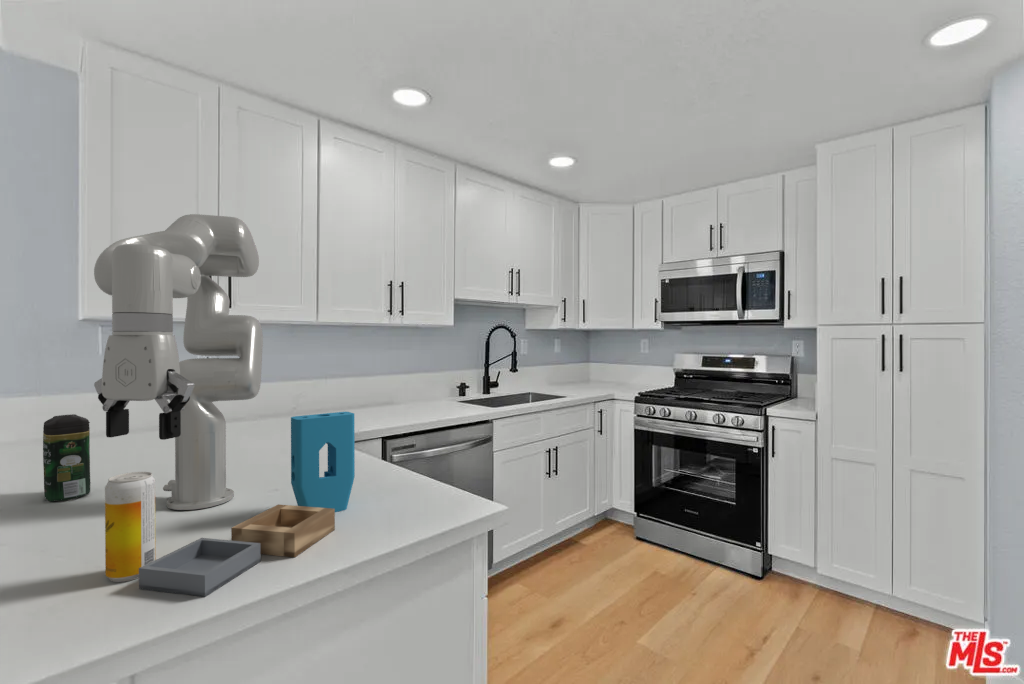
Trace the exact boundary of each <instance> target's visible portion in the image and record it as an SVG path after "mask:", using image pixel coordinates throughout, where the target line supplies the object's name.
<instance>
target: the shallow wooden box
mask: <svg viewBox="0 0 1024 684" xmlns="http://www.w3.org/2000/svg"><path fill="white" fill-rule="evenodd" d="M335 517H336V512H335V509H332V508H319V507H306V506H298V505H289V504H276V505H274V506H272V507H271V508H269V509H267V510H264V511H262V512H260V513H258V514H256V515H254V516H252V517H250V518H248V519H246V520H245V521H244V520H243V521H242V522H240V523H237V524H236V525H234V526H232V527H231V529H230V530H231V531H230V532H231V533H230V534H231V536H230V537H231V540H232V541H242V542H253V543H260V554H261V555H265V556H266V555H267V556H275V557H285V558H286V557H287V558H296V557H298V556H300V555H301V554H302V553H304V552H305V551H306V550H308V549H309V548H311V547H312V546H313V545H315V544H317V543H318V542H319V541H321V540H322V539H324V538H325V537H327V536H328V535H329V534H331V533H333V532H334V531H335V529H336V526H335V525H336V524H335V523H336V520H335V519H336V518H335Z"/></svg>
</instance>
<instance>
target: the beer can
mask: <svg viewBox="0 0 1024 684" xmlns="http://www.w3.org/2000/svg"><path fill="white" fill-rule="evenodd" d="M107 480H108V481H107V483H106V485H105V486H104V501H105V502H104V520H105V521H104V525H105V527H104V528H105V529H104V536H105V537H104V542H105V543H104V545H105V546H104V547H105V549H104V551H105V552H104V553H105V554H104V557H105V564H104V565H105V569H104V570H105V577H106V578H108V579H109V580H110V581H111V582H114V583H123V582H129V581H134V580H137V579H139V568H140V567H142V566H144V565H147V564H149V563H151V562H153V561H155V560H157V559H156V557H157V554H156V546H157V545H156V542H157V541H156V479H155V477H154V476H153V473H152V472H150V471H134V472H127V473H122V474H116V475H114V476H111V477H109V478H108V479H107Z"/></svg>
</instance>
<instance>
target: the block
mask: <svg viewBox="0 0 1024 684" xmlns="http://www.w3.org/2000/svg"><path fill="white" fill-rule="evenodd" d="M355 436H356V434H355V413H354V412H350V411H336V412H327V413H326V412H325V413H317V414H316V413H315V414H305V415H294V416H291V417H290V484H291V487H292V490H293V494H294V497H295V500H296V504H297V505H296V506H306V507H319V508H332V509H335V513H339V512H342V511H343V512H344V511H346V510H347V509H348V505H349V500H350V497H351V494H352V488H353V484H354V481H355V472H356V471H355V469H356V468H355V465H356V464H355V462H356V461H355V457H356V456H355V455H356V454H355V447H356V446H355V443H356V442H355ZM326 444H327V470H326V471H325V470H324V473H323V476H320V451H321V450H322V448H323V447H325V445H326Z"/></svg>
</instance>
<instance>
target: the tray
mask: <svg viewBox="0 0 1024 684" xmlns="http://www.w3.org/2000/svg"><path fill="white" fill-rule="evenodd" d="M261 555H262V554H260V543H253V542H242V541H232V540H230V539H229V540H228V539H222V538H221V539H220V538H210V537H209V538H207V537H200V538H198V539H196V540H194V541H192V542H190V543H188V544H186V545H183V546H182V547H180V548H177V549H176V550H173V551H171V552H169V553H167V554H165V555H163V556H161V557H159V558H157V559H156V560H155V561H153V562H151V563H149V564H147V565H144V566H142V567H140V568H139V578H138V589H139V590H143V591H144V590H145V591H153V592H160V593H167V594H168V593H169V594H178V595H184V596H185V595H186V596H193V597H194V596H195V597H201V598H202V597H203V598H205V597H207V596H209V595H210V594H212V593H214V592H215V591H217V590H218V589H221V587H223V586H224V585H227V583H230V582H231V581H232V580H234V579H236V578H237V577H239V576H240V575H242V574H243V573H245V572H247V571H248V570H250V569H251V568H254V566H256V565H257V564H259V563H261V562H262V561H261V559H262V558H261Z"/></svg>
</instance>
